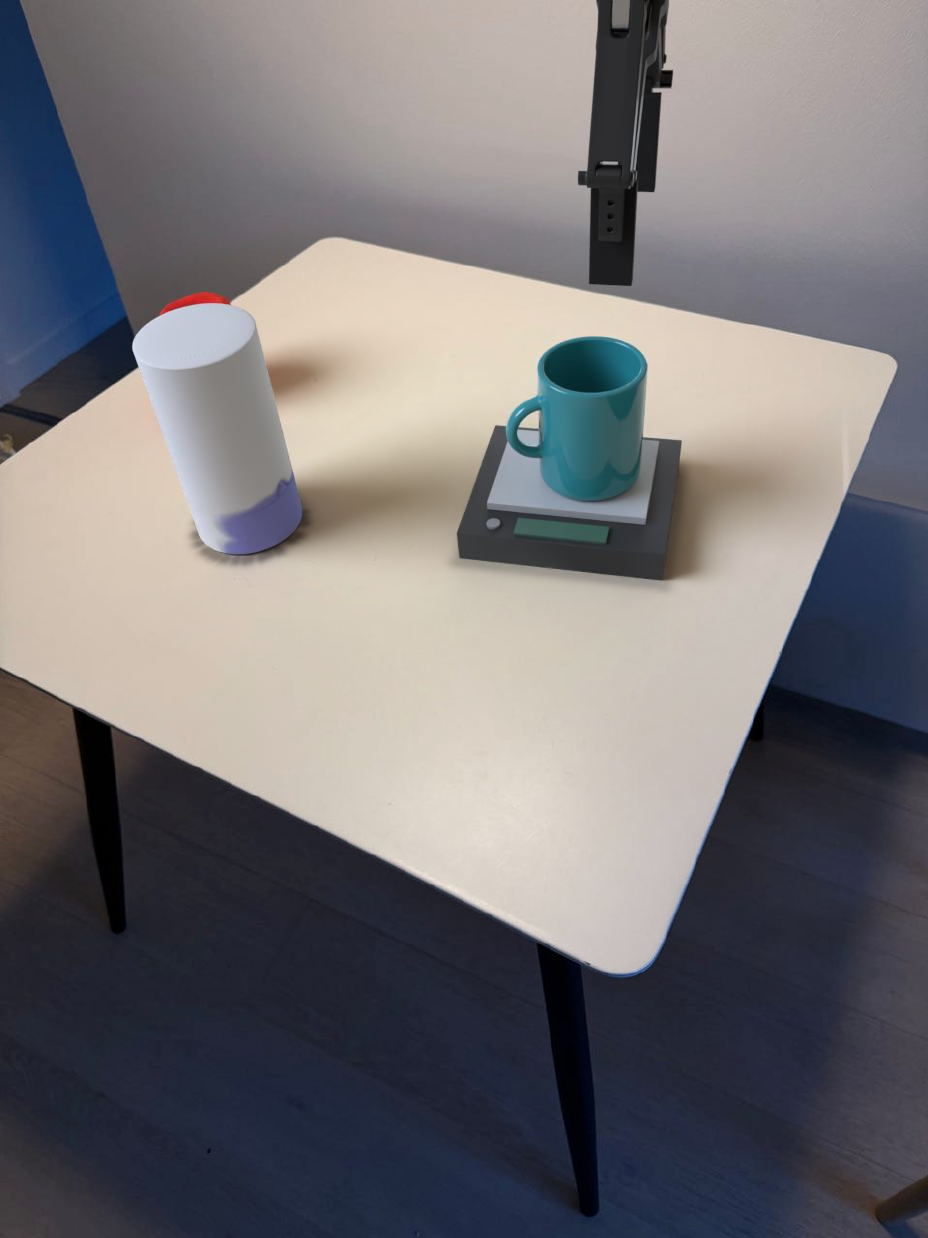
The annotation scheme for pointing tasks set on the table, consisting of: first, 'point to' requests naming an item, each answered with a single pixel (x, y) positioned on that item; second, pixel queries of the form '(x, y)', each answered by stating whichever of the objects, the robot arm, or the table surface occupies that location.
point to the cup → (587, 417)
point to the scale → (569, 514)
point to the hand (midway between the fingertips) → (624, 233)
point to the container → (221, 425)
